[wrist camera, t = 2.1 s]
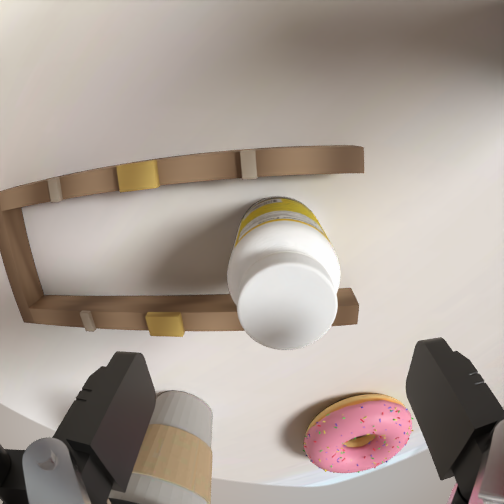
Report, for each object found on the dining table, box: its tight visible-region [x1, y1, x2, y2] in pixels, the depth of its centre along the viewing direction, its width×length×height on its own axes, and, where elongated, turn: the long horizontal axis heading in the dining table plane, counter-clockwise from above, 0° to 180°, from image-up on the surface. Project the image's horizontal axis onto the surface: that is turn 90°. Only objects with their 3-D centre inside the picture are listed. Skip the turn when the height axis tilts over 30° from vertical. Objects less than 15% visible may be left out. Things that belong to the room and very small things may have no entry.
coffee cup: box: [108, 391, 213, 504], centre depth 21 cm, size 9×9×15 cm
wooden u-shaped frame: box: [0, 145, 364, 337], centre depth 21 cm, size 28×12×3 cm, turn 94°
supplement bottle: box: [227, 197, 340, 350], centre depth 17 cm, size 5×5×10 cm
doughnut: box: [303, 394, 413, 473], centre depth 26 cm, size 11×11×4 cm
